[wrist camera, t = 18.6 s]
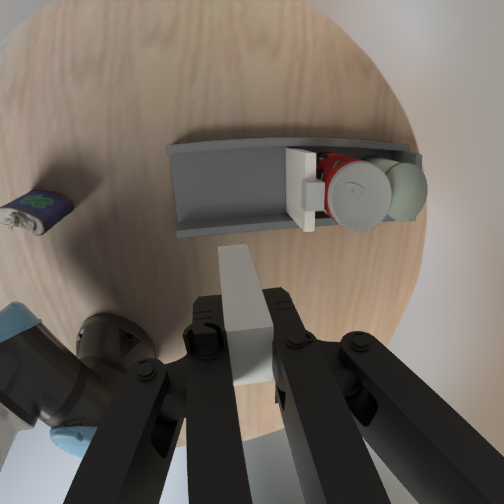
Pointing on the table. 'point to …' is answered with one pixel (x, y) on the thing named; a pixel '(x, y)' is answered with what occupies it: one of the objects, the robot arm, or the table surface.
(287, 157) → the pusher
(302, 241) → the table surface
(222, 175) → the lane
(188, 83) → the table surface
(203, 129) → the table surface
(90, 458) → the robot arm
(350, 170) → the canned food
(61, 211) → the flask
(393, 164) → the green jar
